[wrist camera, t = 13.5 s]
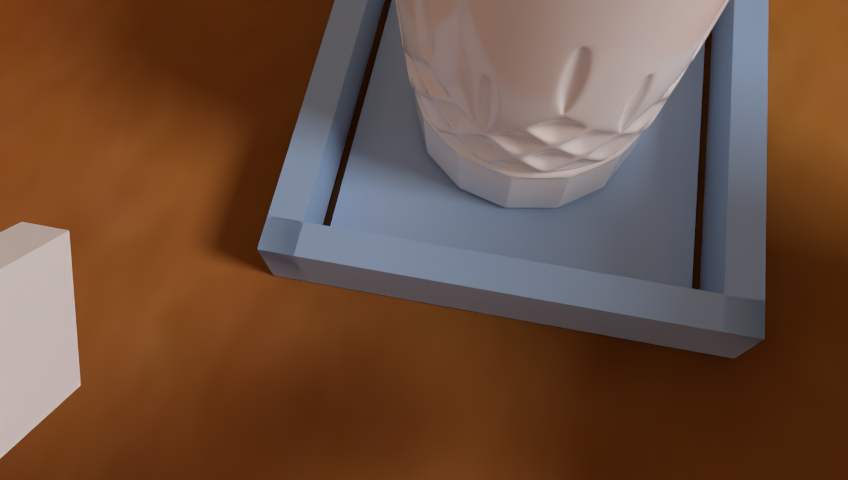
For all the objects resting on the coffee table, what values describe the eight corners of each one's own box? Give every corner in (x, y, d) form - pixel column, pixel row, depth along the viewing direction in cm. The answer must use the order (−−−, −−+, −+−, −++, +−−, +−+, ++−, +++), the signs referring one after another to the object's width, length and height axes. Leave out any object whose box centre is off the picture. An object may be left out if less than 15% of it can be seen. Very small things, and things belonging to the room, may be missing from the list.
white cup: (691, 200, 21) (892, -73, 11) (429, 255, 20) (418, 16, 11) (607, -5, 24) (713, -350, 15) (378, 38, 23) (336, -290, 14)
